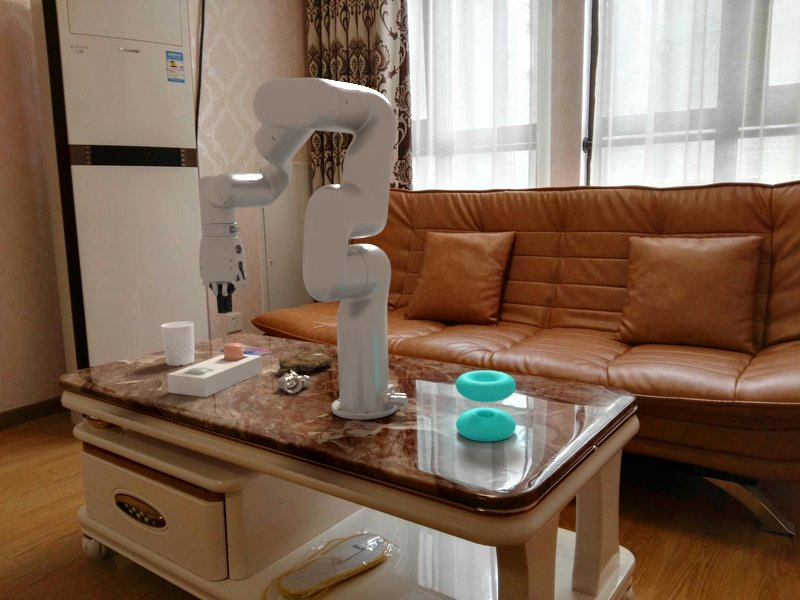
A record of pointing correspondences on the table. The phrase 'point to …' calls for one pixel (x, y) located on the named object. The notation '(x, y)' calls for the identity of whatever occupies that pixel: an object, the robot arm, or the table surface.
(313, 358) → the decorative rock
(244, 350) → the smartphone
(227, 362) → the button box
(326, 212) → the robot arm
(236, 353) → the terracotta button
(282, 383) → the ornament
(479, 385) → the donuts
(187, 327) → the white cup
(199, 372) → the sage button
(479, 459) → the table surface
